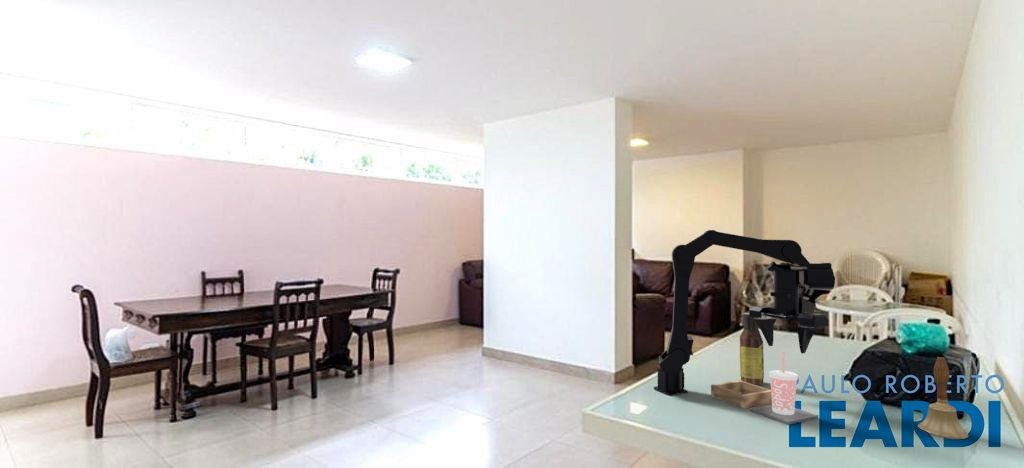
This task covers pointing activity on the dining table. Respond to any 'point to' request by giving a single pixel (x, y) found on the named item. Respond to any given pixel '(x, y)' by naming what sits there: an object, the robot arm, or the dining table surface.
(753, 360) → the sauce bottle
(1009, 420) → the dining table surface
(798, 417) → the coaster
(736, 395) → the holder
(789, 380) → the beverage cup
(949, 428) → the hand bell
